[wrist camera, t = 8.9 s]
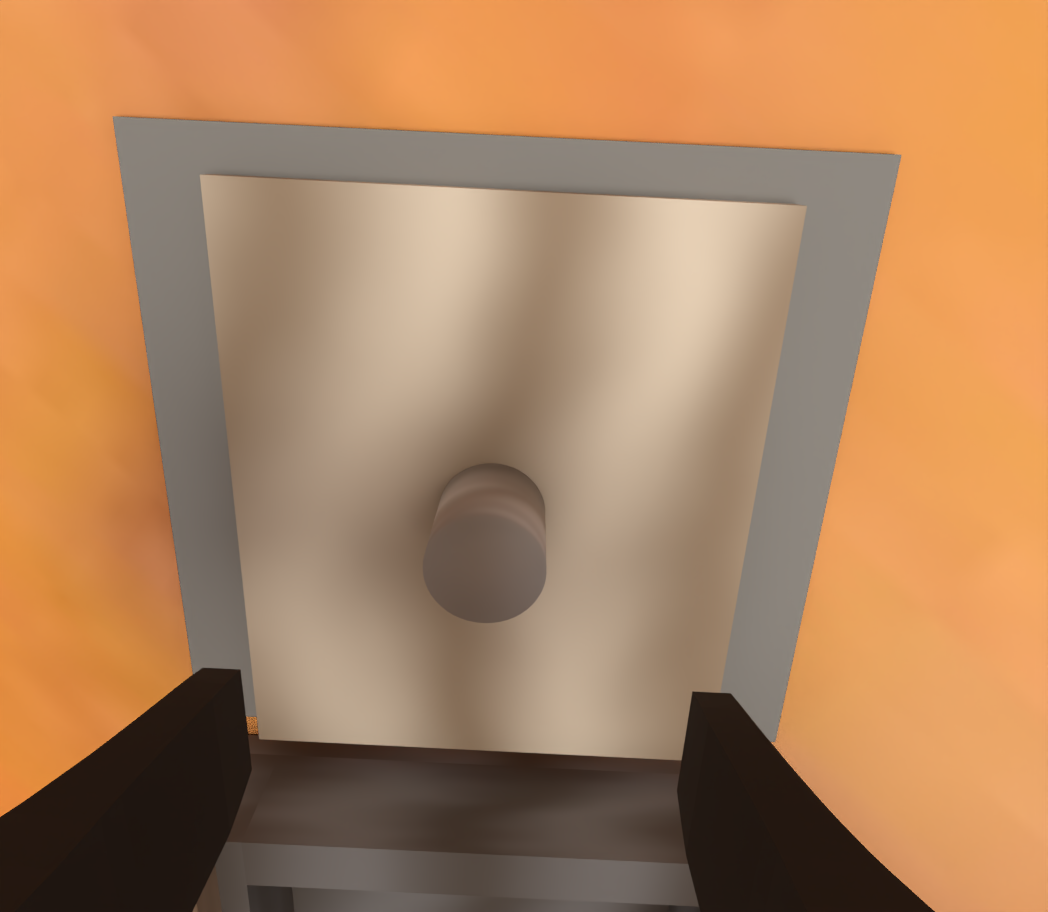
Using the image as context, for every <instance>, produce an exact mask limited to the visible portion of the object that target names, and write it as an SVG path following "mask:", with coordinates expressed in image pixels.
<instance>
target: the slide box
mask: <svg viewBox="0 0 1048 912" xmlns="http://www.w3.org/2000/svg"><path fill="white" fill-rule="evenodd" d="M248 739H249V747H250V756H251V765H252V771H251V774H250V777H249V780H248V783H247V786H246V789H245V792H244V795H243V798H242V801H241V804H240V807H239V810H238V813H237V815H236V818H235V821H234V824H233V827H232V829H231V832H230V834H229V837H228V839H227V841H226V843H225V845H224V847H223V849H222V852H221V854H220V856H219V858H218V860H217V862H216V864H215V866H214V868H213V870H212V872H211V874H210V877H209V879H208V881H207V883H206V885H205V887H204V889H203V891H202V893H201V895H200V897H199V899H198V901H197V903H196V905H195V907H194V909H193V912H700V908H699V905H698V901H697V897H696V893H695V889H694V885H693V881H692V877H691V873H690V869H689V865H688V861H687V857H686V852H685V845H684V839H683V832H682V825H681V818H680V810H679V803H678V795H677V786H678V780H679V773H680V767H681V760H664V759H644V758H624V757H604V756H584V755H564V754H544V753H525V752H505V751H485V750H465V749H445V748H425V747H405V746H385V745H365V744H345V743H325V742H305V741H285V740H265V739H259V735H248Z"/></svg>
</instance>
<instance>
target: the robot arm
mask: <svg viewBox="0 0 1048 912" xmlns="http://www.w3.org/2000/svg"><path fill="white" fill-rule="evenodd" d="M251 771H252V765H251V756H250V747H249V739H248V730H247V721H246V712H245V704H244V695H243V686H242V678H241V669H222V668H201V669H200V670H199V671H197V672H196V673H195V674H193V675H192V676H191V677H189V678H188V679H187V680H185V681H184V682H183V683H182V684H180V685H179V686H178V687H176V688H175V689H174V690H173V691H171V692H170V693H169V694H168V695H166V696H165V697H164V698H163V699H161V700H160V701H159V702H157V703H156V704H155V705H154V706H152V707H151V708H150V709H149V710H147V711H146V712H145V713H144V714H142V715H141V716H140V717H138V718H137V719H136V720H135V721H133V722H132V723H131V724H129V725H128V726H127V727H126V728H124V729H123V730H122V731H120V732H119V733H118V734H116V735H115V736H114V737H112V738H111V739H110V740H109V741H107V742H106V743H105V744H103V745H102V746H101V747H99V748H98V749H97V750H96V751H94V752H93V753H92V754H90V755H89V756H88V757H86V758H85V759H83V760H82V761H80V762H79V763H78V764H76V765H75V766H73V767H72V768H71V769H69V770H68V771H66V772H65V773H64V774H62V775H61V776H59V777H58V778H57V779H55V780H54V781H52V782H51V783H49V784H48V785H47V786H45V787H44V788H42V789H41V790H40V791H38V792H37V793H35V794H34V795H33V796H31V797H30V798H28V799H27V800H25V801H24V802H23V803H21V804H20V805H18V806H16V807H15V808H13V809H12V810H10V811H9V812H7V813H6V814H4V815H3V816H1V817H0V912H193V909H194V907H195V905H196V903H197V901H198V899H199V897H200V895H201V893H202V891H203V889H204V887H205V885H206V883H207V881H208V879H209V877H210V874H211V872H212V870H213V868H214V866H215V864H216V862H217V860H218V858H219V856H220V854H221V852H222V849H223V847H224V845H225V843H226V841H227V839H228V837H229V834H230V832H231V829H232V827H233V824H234V821H235V818H236V815H237V813H238V810H239V807H240V804H241V801H242V798H243V795H244V792H245V789H246V786H247V783H248V780H249V777H250V774H251ZM677 795H678V803H679V810H680V818H681V825H682V832H683V839H684V845H685V852H686V857H687V861H688V865H689V869H690V873H691V877H692V881H693V885H694V889H695V893H696V897H697V901H698V905H699V908H700V912H935V911H933V910H932V909H931V908H930V907H929V906H928V905H927V904H925V903H924V902H923V901H922V900H921V899H920V898H919V897H918V896H917V895H916V894H914V893H913V892H912V891H911V890H910V889H909V888H908V887H907V886H906V885H904V884H903V883H902V882H901V881H900V880H899V879H898V878H897V877H896V876H894V875H893V874H892V873H891V872H890V871H889V870H888V869H887V868H886V867H885V866H884V865H883V864H882V863H881V862H879V861H878V860H877V859H876V858H875V857H874V856H873V855H872V854H871V853H870V852H869V851H868V850H867V849H866V848H865V847H864V846H863V845H862V844H861V843H860V842H859V841H858V840H857V839H856V838H855V837H854V836H853V835H852V834H851V833H850V832H849V830H848V829H847V828H846V827H845V826H844V825H843V824H842V823H841V822H840V821H839V820H838V819H837V818H836V817H835V816H834V815H833V814H832V813H831V811H830V810H829V809H828V808H827V807H826V806H825V805H824V804H823V803H822V802H821V800H820V799H819V798H818V797H817V796H816V795H815V794H814V793H813V791H812V790H811V789H810V788H809V787H808V786H807V785H806V783H805V782H804V781H803V780H802V779H801V778H800V777H799V775H798V774H797V773H796V772H795V771H794V770H793V768H792V767H791V766H790V765H789V764H788V763H787V761H786V760H785V759H784V758H783V757H782V755H781V754H780V753H779V752H778V751H777V749H776V748H775V747H774V746H773V744H772V743H771V742H770V741H769V740H768V738H767V737H766V736H765V735H764V733H763V732H762V731H761V730H760V728H759V727H758V726H757V725H756V723H755V722H754V721H753V720H752V719H751V717H750V716H749V715H748V714H747V712H746V711H745V710H744V709H743V707H742V706H741V705H740V704H739V702H738V701H737V700H736V699H735V698H734V697H733V695H732V694H731V693H714V692H694V691H692V697H691V703H690V710H689V716H688V722H687V729H686V735H685V741H684V748H683V754H682V760H681V767H680V773H679V780H678V786H677Z"/></svg>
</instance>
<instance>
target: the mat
mask: <svg viewBox="0 0 1048 912" xmlns="http://www.w3.org/2000/svg"><path fill="white" fill-rule="evenodd" d="M113 122H114V129H115V136H116V143H117V150H118V157H119V164H120V171H121V178H122V185H123V192H124V199H125V206H126V213H127V220H128V227H129V234H130V240H131V247H132V254H133V261H134V268H135V275H136V282H137V289H138V296H139V303H140V310H141V317H142V324H143V331H144V338H145V345H146V352H147V358H148V365H149V372H150V379H151V386H152V393H153V400H154V407H155V414H156V421H157V428H158V435H159V442H160V449H161V456H162V463H163V470H164V477H165V483H166V490H167V497H168V504H169V511H170V518H171V525H172V532H173V539H174V546H175V553H176V560H177V567H178V574H179V581H180V588H181V595H182V601H183V608H184V615H185V622H186V629H187V636H188V643H189V650H190V657H191V664H192V671H193V674H195V673H196V672H197V671H199V670H200V669H201V668H222V669H241V678H242V686H243V695H244V704H245V712H246V716H249V717H257V714H256V705H255V695H254V686H253V676H252V667H251V657H250V648H249V638H248V629H247V619H246V610H245V600H244V591H243V581H242V572H241V562H240V553H239V543H238V534H237V524H236V515H235V505H234V496H233V486H232V477H231V467H230V458H229V448H228V439H227V429H226V420H225V410H224V401H223V391H222V382H221V372H220V363H219V353H218V344H217V334H216V325H215V315H214V306H213V296H212V287H211V277H210V268H209V258H208V249H207V239H206V230H205V220H204V211H203V201H202V192H201V182H200V175H203V174H223V175H242V176H262V177H281V178H301V179H320V180H339V181H359V182H378V183H398V184H417V185H437V186H456V187H475V188H495V189H514V190H534V191H553V192H573V193H592V194H611V195H631V196H650V197H670V198H689V199H708V200H728V201H747V202H767V203H786V204H799V205H805V206H807V209H806V215H805V220H804V226H803V231H802V237H801V243H800V248H799V254H798V259H797V265H796V271H795V276H794V282H793V288H792V293H791V299H790V304H789V310H788V316H787V321H786V327H785V332H784V338H783V344H782V349H781V355H780V360H779V366H778V372H777V377H776V383H775V388H774V394H773V400H772V405H771V411H770V416H769V422H768V428H767V433H766V439H765V444H764V450H763V456H762V461H761V467H760V472H759V478H758V484H757V489H756V495H755V501H754V506H753V512H752V517H751V523H750V529H749V534H748V540H747V545H746V551H745V557H744V562H743V568H742V573H741V579H740V585H739V590H738V596H737V601H736V607H735V613H734V618H733V624H732V629H731V635H730V641H729V646H728V652H727V657H726V663H725V669H724V674H723V680H722V686H721V691H720V693H731V694H732V695H733V697H734V698H735V699H736V700H737V701H738V702H739V704H740V705H741V706H742V707H743V709H744V710H745V711H746V712H747V714H748V715H749V716H750V717H751V719H752V720H753V721H754V722H755V723H756V725H757V726H758V727H759V728H760V730H761V731H762V732H763V733H764V735H765V736H766V737H767V738H768V740H769V741H770V742H775V740H776V736H777V731H778V726H779V722H780V717H781V712H782V708H783V703H784V699H785V694H786V689H787V685H788V680H789V675H790V671H791V666H792V661H793V657H794V652H795V647H796V643H797V638H798V633H799V629H800V624H801V619H802V615H803V610H804V606H805V601H806V596H807V592H808V587H809V582H810V578H811V573H812V568H813V564H814V559H815V554H816V550H817V545H818V540H819V536H820V531H821V526H822V522H823V517H824V512H825V508H826V503H827V499H828V494H829V489H830V485H831V480H832V475H833V471H834V466H835V461H836V457H837V452H838V447H839V443H840V438H841V433H842V429H843V424H844V419H845V415H846V410H847V406H848V401H849V396H850V392H851V387H852V382H853V378H854V373H855V368H856V364H857V359H858V354H859V350H860V345H861V340H862V336H863V331H864V326H865V322H866V317H867V313H868V308H869V303H870V299H871V294H872V289H873V285H874V280H875V275H876V271H877V266H878V261H879V257H880V252H881V247H882V243H883V238H884V233H885V229H886V224H887V219H888V215H889V210H890V206H891V201H892V196H893V192H894V187H895V182H896V178H897V173H898V168H899V164H900V159H901V155H894V154H873V153H853V152H832V151H812V150H791V149H771V148H750V147H730V146H709V145H689V144H668V143H648V142H627V141H607V140H586V139H566V138H545V137H525V136H504V135H484V134H463V133H443V132H422V131H402V130H381V129H360V128H340V127H319V126H299V125H278V124H258V123H237V122H217V121H196V120H176V119H155V118H135V117H114V116H113Z"/></svg>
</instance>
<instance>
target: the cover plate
mask: <svg viewBox="0 0 1048 912" xmlns="http://www.w3.org/2000/svg"><path fill="white" fill-rule="evenodd" d="M200 182H201V192H202V201H203V211H204V220H205V230H206V239H207V249H208V258H209V268H210V277H211V287H212V296H213V306H214V315H215V325H216V334H217V344H218V353H219V363H220V372H221V382H222V391H223V401H224V410H225V420H226V429H227V439H228V448H229V458H230V467H231V477H232V486H233V496H234V505H235V515H236V524H237V534H238V543H239V553H240V562H241V572H242V581H243V591H244V600H245V610H246V619H247V629H248V638H249V648H250V657H251V667H252V676H253V686H254V695H255V705H256V714H257V724H258V734H259V739H265V740H285V741H305V742H325V743H345V744H365V745H385V746H405V747H425V748H445V749H465V750H485V751H505V752H525V753H544V754H564V755H584V756H604V757H624V758H644V759H664V760H682V754H683V748H684V741H685V735H686V729H687V722H688V716H689V710H690V703H691V697H692V691H694V692H714V693H720V691H721V686H722V680H723V674H724V669H725V663H726V657H727V652H728V646H729V641H730V635H731V629H732V624H733V618H734V613H735V607H736V601H737V596H738V590H739V585H740V579H741V573H742V568H743V562H744V557H745V551H746V545H747V540H748V534H749V529H750V523H751V517H752V512H753V506H754V501H755V495H756V489H757V484H758V478H759V472H760V467H761V461H762V456H763V450H764V444H765V439H766V433H767V428H768V422H769V416H770V411H771V405H772V400H773V394H774V388H775V383H776V377H777V372H778V366H779V360H780V355H781V349H782V344H783V338H784V332H785V327H786V321H787V316H788V310H789V304H790V299H791V293H792V288H793V282H794V276H795V271H796V265H797V259H798V254H799V248H800V243H801V237H802V231H803V226H804V220H805V215H806V209H807V206H805V205H799V204H786V203H767V202H747V201H728V200H708V199H689V198H670V197H650V196H631V195H611V194H592V193H573V192H553V191H534V190H514V189H495V188H475V187H456V186H437V185H417V184H398V183H378V182H359V181H339V180H320V179H301V178H281V177H262V176H242V175H223V174H203V175H200Z"/></svg>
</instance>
